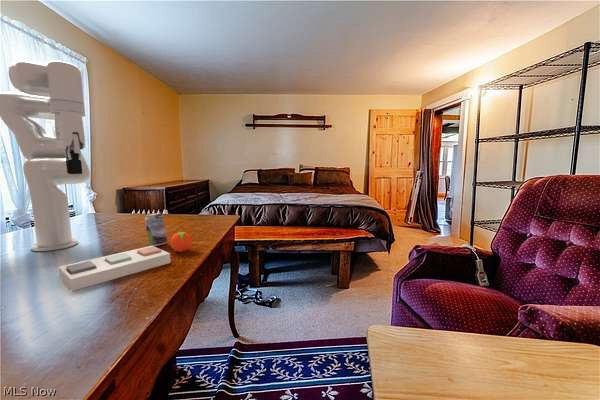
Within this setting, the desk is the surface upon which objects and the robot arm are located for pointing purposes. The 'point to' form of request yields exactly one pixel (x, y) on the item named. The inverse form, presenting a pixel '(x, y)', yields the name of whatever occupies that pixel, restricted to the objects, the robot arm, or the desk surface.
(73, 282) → the panel
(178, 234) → the clementine
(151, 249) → the terracotta button
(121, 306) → the desk surface
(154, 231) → the beverage can
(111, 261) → the sage button
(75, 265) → the charcoal button
